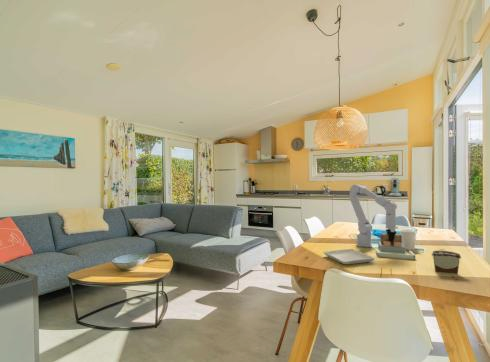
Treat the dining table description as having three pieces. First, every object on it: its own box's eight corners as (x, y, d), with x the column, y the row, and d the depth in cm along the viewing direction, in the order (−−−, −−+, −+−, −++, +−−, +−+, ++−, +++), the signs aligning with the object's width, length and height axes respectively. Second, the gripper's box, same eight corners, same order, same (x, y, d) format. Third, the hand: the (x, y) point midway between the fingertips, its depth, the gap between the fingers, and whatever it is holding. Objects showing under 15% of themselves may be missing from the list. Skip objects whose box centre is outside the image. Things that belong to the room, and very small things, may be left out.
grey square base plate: (380, 252, 176) (380, 245, 176) (378, 247, 188) (378, 241, 188) (405, 254, 171) (405, 247, 171) (401, 249, 183) (401, 243, 183)
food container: (456, 270, 139) (456, 251, 139) (461, 274, 134) (461, 254, 134) (428, 268, 143) (428, 249, 143) (432, 272, 138) (432, 252, 138)
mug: (411, 245, 191) (411, 229, 191) (422, 248, 183) (422, 231, 183) (397, 247, 188) (397, 229, 188) (408, 250, 180) (407, 232, 180)
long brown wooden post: (381, 243, 181) (381, 234, 181) (380, 242, 184) (380, 233, 184) (401, 244, 177) (401, 235, 177) (400, 243, 180) (400, 234, 180)
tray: (377, 256, 165) (377, 252, 165) (375, 251, 176) (375, 248, 176) (415, 259, 158) (415, 255, 158) (410, 254, 169) (410, 250, 169)
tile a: (383, 245, 176) (383, 241, 176) (382, 244, 180) (382, 240, 180) (390, 246, 175) (390, 242, 175) (389, 244, 179) (389, 241, 179)
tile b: (394, 246, 174) (394, 242, 174) (393, 245, 178) (393, 241, 178) (401, 246, 173) (401, 243, 173) (400, 245, 177) (399, 241, 177)
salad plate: (343, 267, 147) (343, 261, 147) (322, 256, 168) (322, 251, 168) (376, 263, 153) (376, 257, 153) (351, 254, 173) (351, 248, 173)
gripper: (399, 222, 172) (399, 243, 172) (395, 219, 186) (395, 238, 186) (387, 221, 174) (387, 242, 174) (384, 218, 188) (384, 238, 188)
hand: (390, 240), depth 180 cm, fingers closed on long brown wooden post, 3 cm apart
